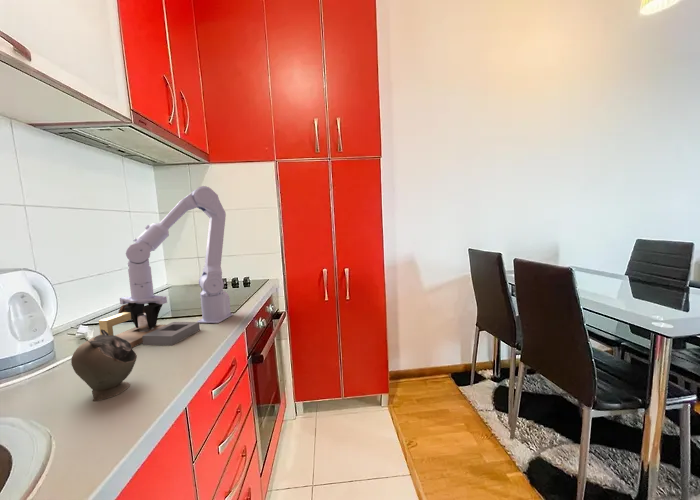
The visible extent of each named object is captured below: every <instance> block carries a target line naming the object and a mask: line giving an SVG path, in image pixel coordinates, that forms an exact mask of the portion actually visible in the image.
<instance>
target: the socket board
mask: <svg viewBox="0 0 700 500" xmlns="http://www.w3.org/2000/svg"><path fill="white" fill-rule="evenodd" d="M165 325H166V324H156V326H155V327H154V329H153V330H150V331H148V332H139V329H138V328H136V326H135V327H133V328H131V329H128V330H124V331H123V332H119V333H118V334H115V335H114V336H117V337H120V338H121V339H124V340H126V341H128V342H129V343H130V344H131V346H132V348H135V347H136V346H138V345H141V344H143V338H142V336H143V335H145V334H147V333H150V332H152V331H154V330H156V329H158V328H161V327H163V326H165Z"/></svg>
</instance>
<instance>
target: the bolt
mask: <svg viewBox="0 0 700 500" xmlns="http://www.w3.org/2000/svg"><path fill="white" fill-rule="evenodd" d="M126 306H128V304H121V306H120V307H119V310H118V313H117V314H120V313H123V312H127V311H126V310H125V309H124V307H126ZM143 313H145V311H144V309H143Z"/></svg>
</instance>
